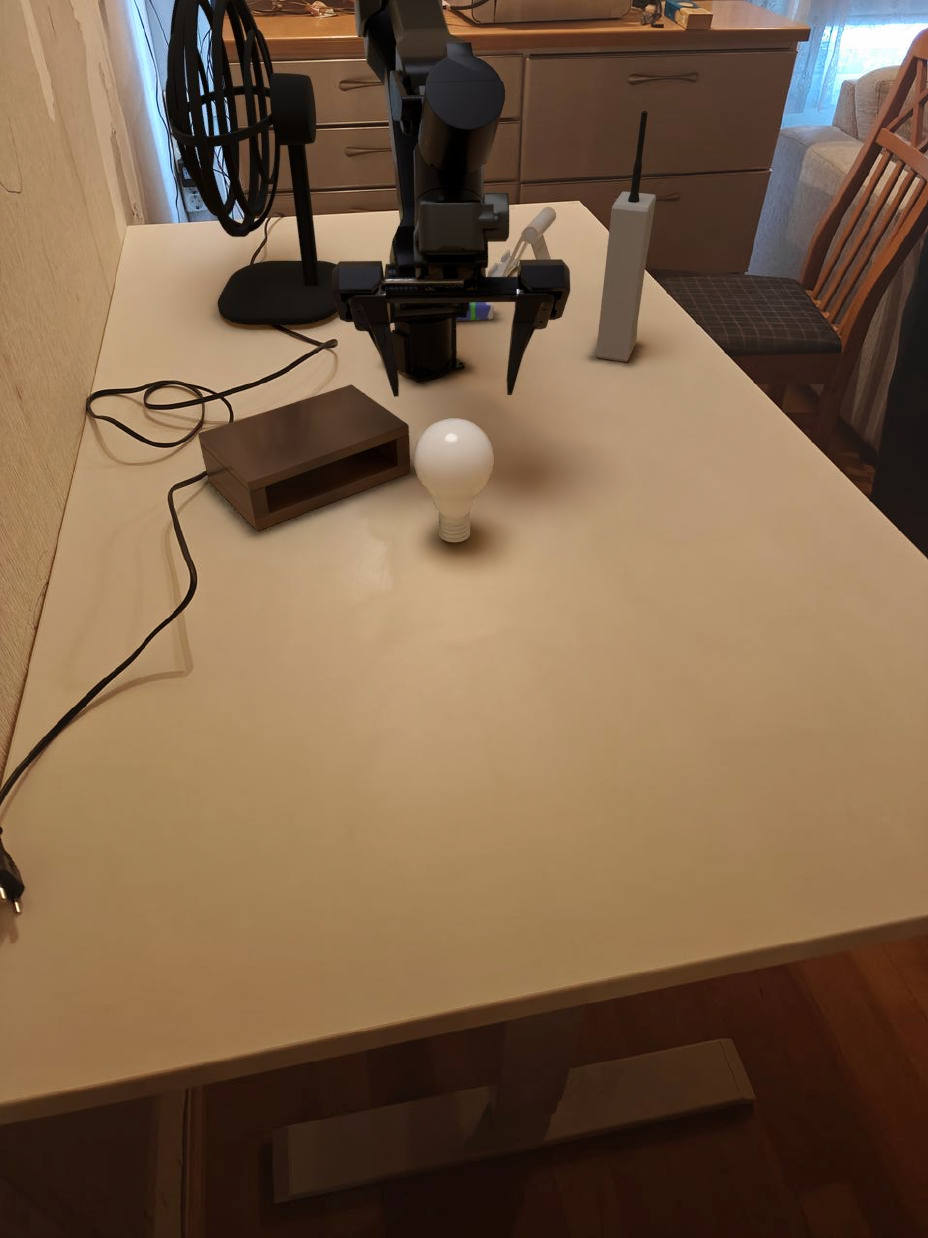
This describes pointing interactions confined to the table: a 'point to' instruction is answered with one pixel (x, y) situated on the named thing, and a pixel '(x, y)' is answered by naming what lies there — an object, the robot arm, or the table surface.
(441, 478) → the lightbulb
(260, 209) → the desk fan
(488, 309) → the eraser
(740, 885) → the table surface
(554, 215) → the tablet stand
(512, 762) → the table surface
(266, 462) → the shelf
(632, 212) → the vintage mobile phone
